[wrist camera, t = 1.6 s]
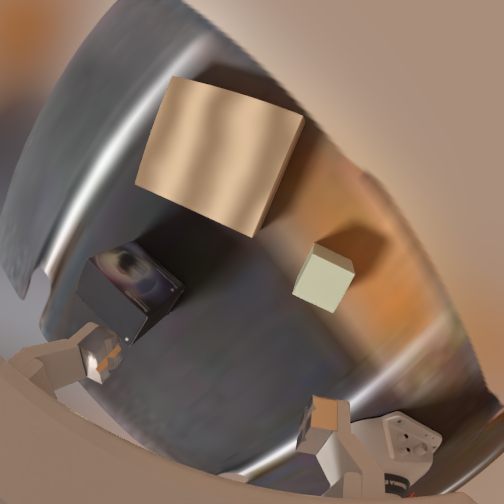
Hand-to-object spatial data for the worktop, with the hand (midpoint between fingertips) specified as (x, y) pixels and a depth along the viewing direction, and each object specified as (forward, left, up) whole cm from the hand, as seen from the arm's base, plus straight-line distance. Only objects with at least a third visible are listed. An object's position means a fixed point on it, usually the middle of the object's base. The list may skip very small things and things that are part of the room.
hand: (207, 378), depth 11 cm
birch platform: (+12, -6, -26) cm, 29 cm away
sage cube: (-5, +2, -26) cm, 27 cm away
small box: (+16, +14, -26) cm, 34 cm away
